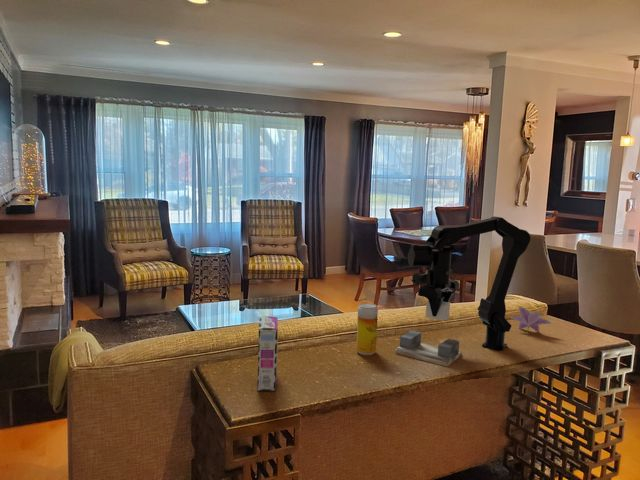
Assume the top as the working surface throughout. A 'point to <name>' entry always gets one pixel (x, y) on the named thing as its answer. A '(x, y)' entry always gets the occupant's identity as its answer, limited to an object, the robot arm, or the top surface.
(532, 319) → the lily
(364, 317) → the beer can
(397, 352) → the rail board
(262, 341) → the candy bar box
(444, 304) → the module block
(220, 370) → the top surface
